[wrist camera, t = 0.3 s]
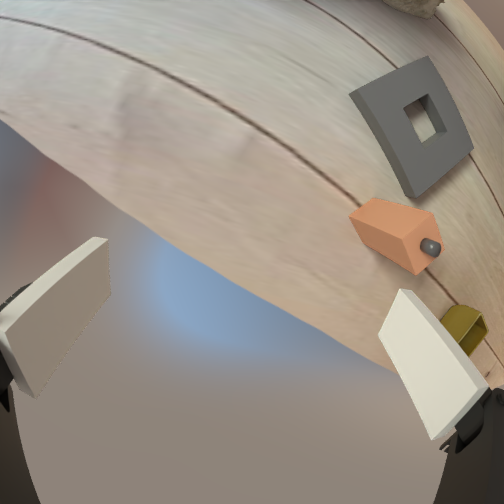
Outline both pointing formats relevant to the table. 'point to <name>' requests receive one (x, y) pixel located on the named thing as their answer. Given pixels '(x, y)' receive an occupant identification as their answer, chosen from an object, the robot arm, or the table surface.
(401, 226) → the plug
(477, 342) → the flower pot
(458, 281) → the table surface
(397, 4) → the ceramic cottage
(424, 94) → the socket
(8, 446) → the robot arm
